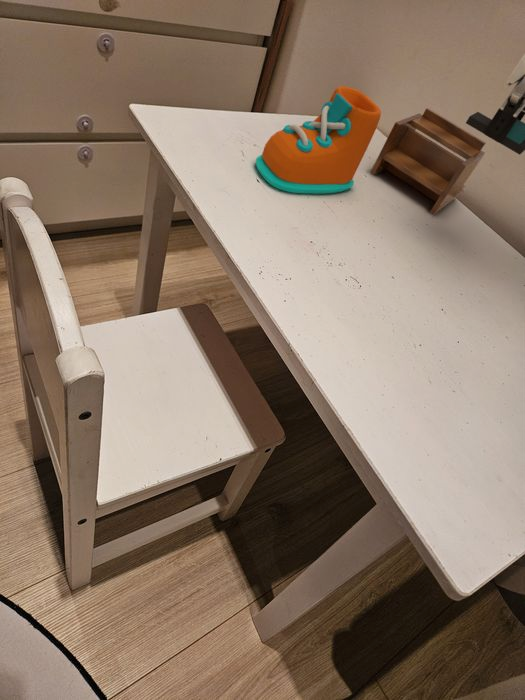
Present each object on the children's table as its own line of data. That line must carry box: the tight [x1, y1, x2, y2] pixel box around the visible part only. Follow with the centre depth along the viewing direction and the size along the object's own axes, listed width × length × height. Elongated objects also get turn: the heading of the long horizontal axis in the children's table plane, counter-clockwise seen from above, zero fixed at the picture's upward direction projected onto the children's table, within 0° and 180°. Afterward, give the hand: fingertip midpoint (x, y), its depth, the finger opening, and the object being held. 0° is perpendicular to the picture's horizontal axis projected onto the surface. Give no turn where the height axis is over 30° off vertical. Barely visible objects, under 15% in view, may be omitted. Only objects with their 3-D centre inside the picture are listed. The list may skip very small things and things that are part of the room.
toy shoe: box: [255, 85, 382, 195], centre depth 82 cm, size 12×20×15 cm, turn 117°
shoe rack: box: [369, 107, 487, 216], centre depth 94 cm, size 16×12×13 cm
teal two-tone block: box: [465, 111, 525, 156], centre depth 74 cm, size 10×4×3 cm, turn 52°
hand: (497, 134), depth 75 cm, fingers closed on teal two-tone block, 4 cm apart
